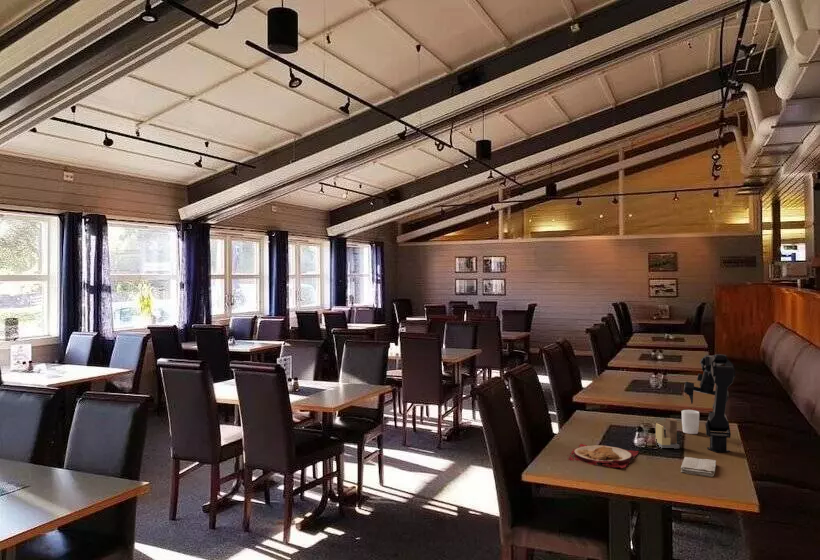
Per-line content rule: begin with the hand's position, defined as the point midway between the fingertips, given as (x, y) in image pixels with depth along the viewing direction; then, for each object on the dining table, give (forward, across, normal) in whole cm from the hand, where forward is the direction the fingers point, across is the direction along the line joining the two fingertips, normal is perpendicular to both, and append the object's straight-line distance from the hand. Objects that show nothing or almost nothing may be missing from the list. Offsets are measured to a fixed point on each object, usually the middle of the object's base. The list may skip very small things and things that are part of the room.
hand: (702, 405), depth 294 cm
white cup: (+14, +3, +5) cm, 15 cm away
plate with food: (-7, +38, +61) cm, 72 cm away
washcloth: (-13, +2, +60) cm, 61 cm away
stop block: (-1, +12, +32) cm, 34 cm away
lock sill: (+1, +13, +34) cm, 36 cm away
